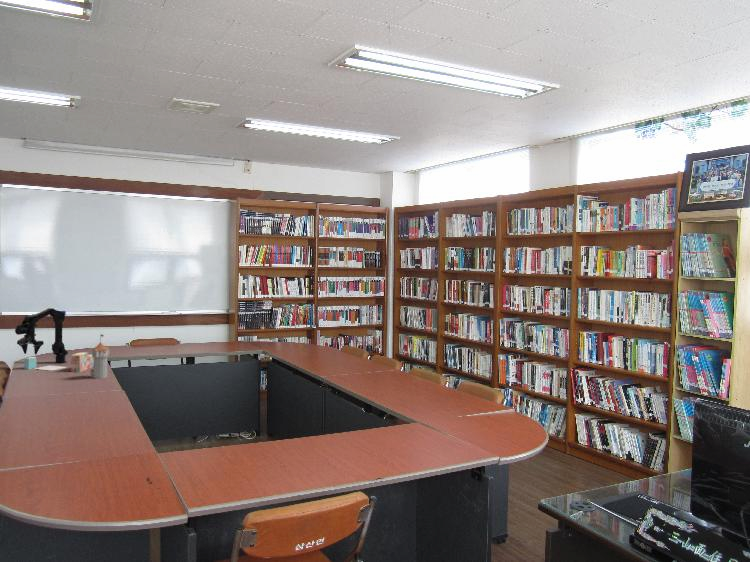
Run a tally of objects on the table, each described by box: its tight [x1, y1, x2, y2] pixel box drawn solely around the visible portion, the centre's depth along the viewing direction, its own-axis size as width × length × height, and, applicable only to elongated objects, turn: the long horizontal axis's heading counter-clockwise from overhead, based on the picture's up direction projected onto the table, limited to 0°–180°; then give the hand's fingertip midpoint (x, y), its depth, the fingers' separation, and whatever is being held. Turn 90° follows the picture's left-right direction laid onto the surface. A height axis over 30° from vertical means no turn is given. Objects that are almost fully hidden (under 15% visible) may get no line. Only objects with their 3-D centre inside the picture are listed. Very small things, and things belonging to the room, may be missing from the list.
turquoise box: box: [23, 356, 37, 370], centre depth 435 cm, size 7×4×8 cm, turn 165°
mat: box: [34, 365, 67, 372], centre depth 437 cm, size 14×16×1 cm
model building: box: [89, 333, 110, 379], centre depth 409 cm, size 14×12×30 cm
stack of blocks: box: [70, 352, 94, 373], centre depth 437 cm, size 21×6×12 cm, turn 0°
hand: (30, 354), depth 435 cm, fingers open, 9 cm apart
